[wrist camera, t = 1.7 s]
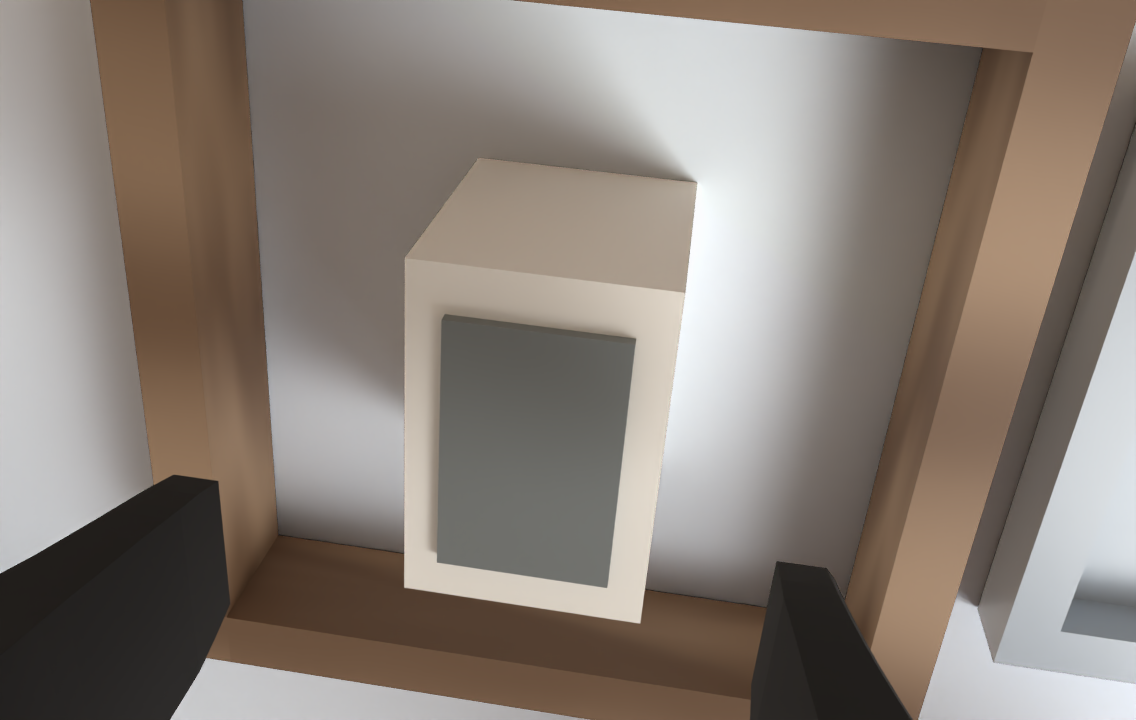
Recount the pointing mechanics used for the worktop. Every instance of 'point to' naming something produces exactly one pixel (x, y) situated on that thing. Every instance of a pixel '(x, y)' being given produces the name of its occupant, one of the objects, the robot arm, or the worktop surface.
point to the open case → (668, 621)
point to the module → (542, 384)
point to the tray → (1079, 485)
